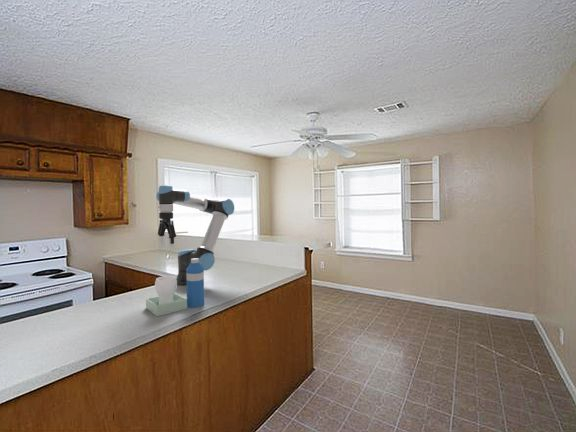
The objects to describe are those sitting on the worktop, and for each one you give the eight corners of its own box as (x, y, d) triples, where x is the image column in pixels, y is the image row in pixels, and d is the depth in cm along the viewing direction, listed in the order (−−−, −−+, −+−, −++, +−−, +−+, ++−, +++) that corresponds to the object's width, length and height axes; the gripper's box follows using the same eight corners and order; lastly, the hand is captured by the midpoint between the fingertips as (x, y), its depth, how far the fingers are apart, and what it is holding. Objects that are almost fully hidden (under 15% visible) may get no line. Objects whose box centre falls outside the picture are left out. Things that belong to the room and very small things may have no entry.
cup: (167, 311, 144) (166, 281, 144) (150, 308, 148) (150, 279, 147) (181, 304, 154) (181, 276, 154) (165, 302, 158) (165, 274, 157)
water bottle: (199, 300, 164) (198, 256, 163) (207, 304, 157) (207, 258, 156) (183, 304, 157) (182, 258, 156) (191, 308, 150) (190, 261, 149)
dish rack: (174, 301, 162) (174, 292, 162) (187, 308, 151) (186, 298, 151) (146, 308, 151) (145, 298, 151) (157, 316, 140) (157, 306, 140)
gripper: (151, 211, 175) (152, 246, 176) (168, 212, 157) (169, 251, 158) (163, 211, 180) (164, 245, 181) (181, 212, 163) (182, 249, 164)
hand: (166, 248), depth 170 cm, fingers open, 13 cm apart
